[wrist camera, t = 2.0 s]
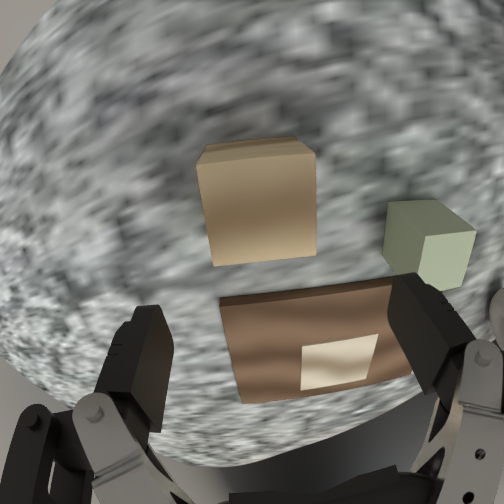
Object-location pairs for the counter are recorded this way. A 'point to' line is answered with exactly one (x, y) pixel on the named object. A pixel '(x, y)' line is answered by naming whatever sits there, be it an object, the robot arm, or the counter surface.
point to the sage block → (428, 242)
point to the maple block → (259, 199)
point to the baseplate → (312, 340)
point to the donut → (497, 316)
